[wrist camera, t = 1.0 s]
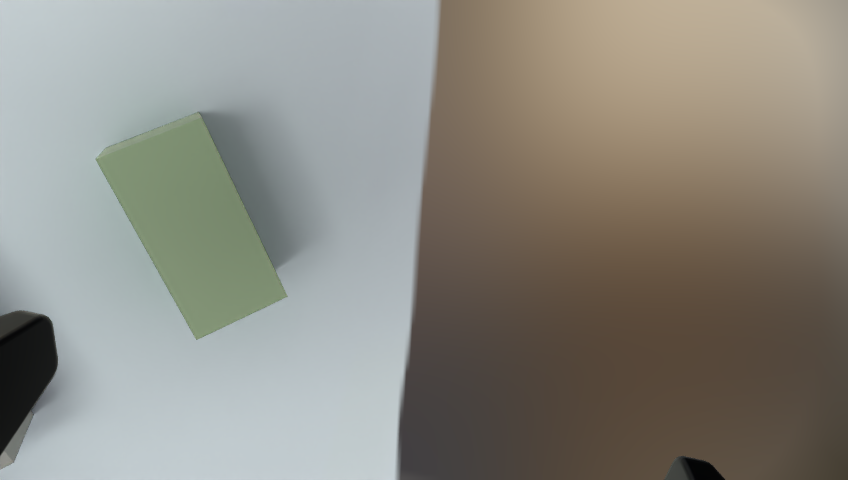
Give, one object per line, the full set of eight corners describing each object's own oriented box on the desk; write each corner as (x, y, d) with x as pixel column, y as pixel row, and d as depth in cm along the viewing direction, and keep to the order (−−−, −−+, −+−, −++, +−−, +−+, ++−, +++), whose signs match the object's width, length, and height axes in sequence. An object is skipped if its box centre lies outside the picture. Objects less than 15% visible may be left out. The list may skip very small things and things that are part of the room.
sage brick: (274, 269, 23) (287, 296, 20) (193, 306, 22) (196, 340, 19) (197, 111, 20) (202, 117, 18) (106, 147, 20) (95, 159, 17)
